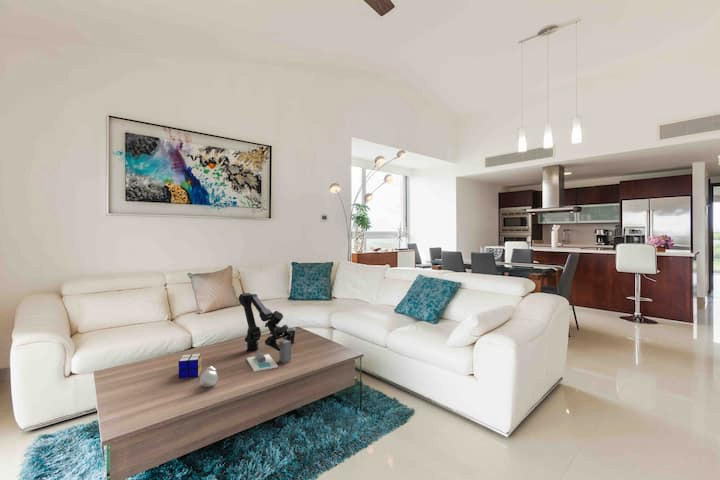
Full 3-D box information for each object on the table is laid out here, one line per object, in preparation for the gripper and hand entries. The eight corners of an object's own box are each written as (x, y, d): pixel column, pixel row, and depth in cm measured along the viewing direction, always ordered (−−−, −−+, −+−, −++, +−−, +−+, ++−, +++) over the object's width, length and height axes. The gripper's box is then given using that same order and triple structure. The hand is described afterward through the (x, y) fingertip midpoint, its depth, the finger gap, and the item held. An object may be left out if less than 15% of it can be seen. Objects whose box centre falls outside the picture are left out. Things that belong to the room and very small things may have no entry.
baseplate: (246, 359, 219) (246, 354, 219) (268, 355, 226) (268, 350, 226) (254, 372, 200) (254, 366, 200) (278, 367, 207) (278, 361, 207)
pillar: (279, 361, 217) (279, 341, 216) (285, 358, 221) (285, 339, 220) (284, 363, 214) (284, 343, 213) (290, 360, 218) (290, 341, 217)
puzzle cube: (178, 379, 190) (178, 361, 190) (182, 371, 200) (182, 354, 199) (198, 377, 193) (198, 359, 193) (201, 370, 202) (201, 353, 202)
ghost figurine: (222, 384, 184) (222, 366, 184) (207, 391, 176) (206, 372, 175) (211, 380, 189) (211, 362, 188) (196, 387, 180) (195, 368, 180)
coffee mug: (297, 342, 253) (297, 328, 253) (289, 345, 246) (289, 331, 245) (286, 339, 259) (286, 326, 259) (277, 342, 252) (277, 329, 252)
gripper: (267, 324, 212) (279, 345, 206) (290, 318, 227) (302, 337, 221) (259, 334, 217) (271, 355, 211) (282, 327, 232) (294, 347, 226)
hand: (285, 348), depth 217 cm, fingers open, 9 cm apart
